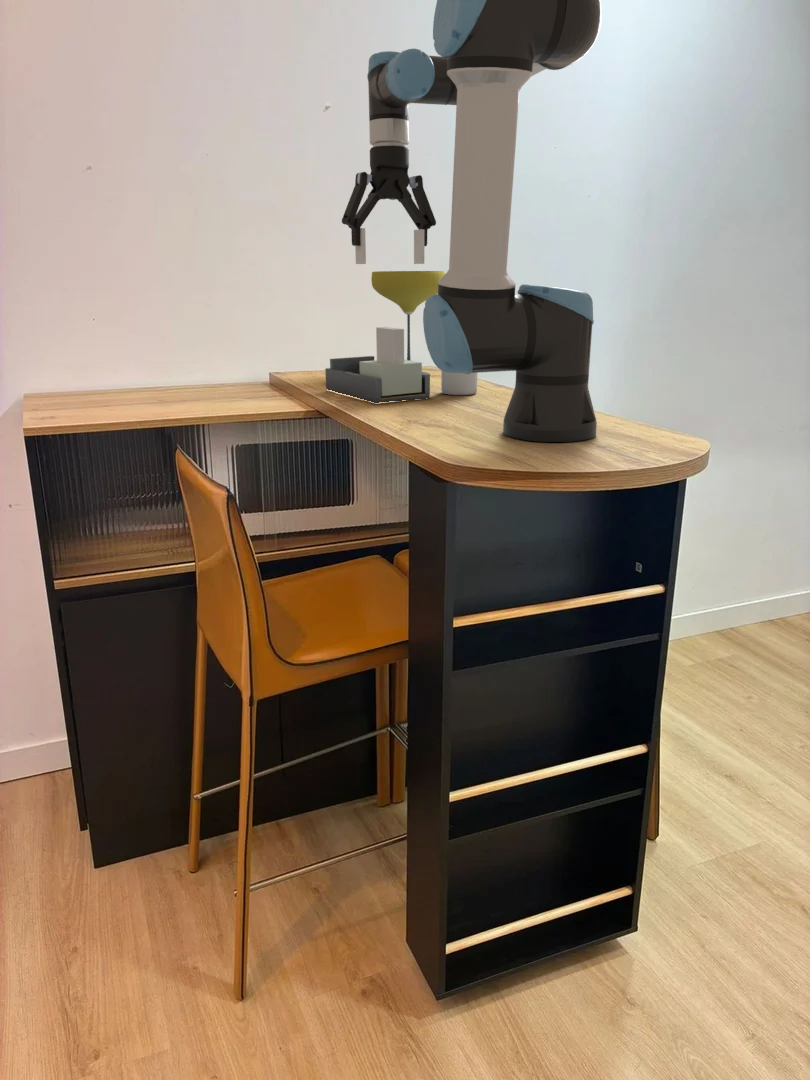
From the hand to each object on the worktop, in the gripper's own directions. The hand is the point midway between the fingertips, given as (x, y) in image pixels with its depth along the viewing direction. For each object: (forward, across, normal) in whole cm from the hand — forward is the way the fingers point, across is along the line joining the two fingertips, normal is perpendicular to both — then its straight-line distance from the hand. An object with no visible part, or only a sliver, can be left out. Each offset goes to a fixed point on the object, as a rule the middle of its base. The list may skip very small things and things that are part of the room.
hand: (390, 264), depth 163 cm
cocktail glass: (+27, -23, -30) cm, 47 cm away
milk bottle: (+27, -16, +2) cm, 31 cm away
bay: (+27, 0, -6) cm, 27 cm away
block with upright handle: (+25, 0, 0) cm, 25 cm away
